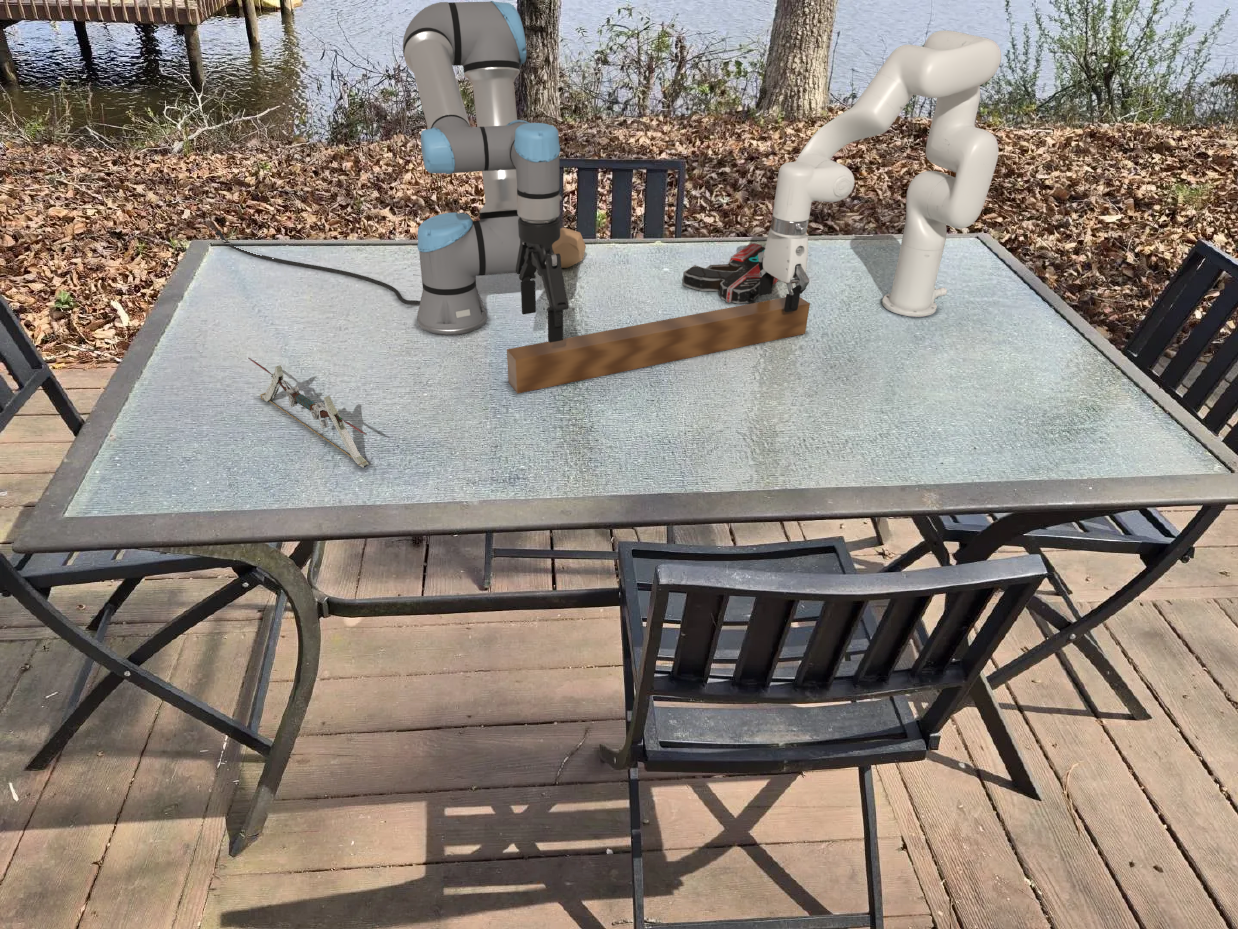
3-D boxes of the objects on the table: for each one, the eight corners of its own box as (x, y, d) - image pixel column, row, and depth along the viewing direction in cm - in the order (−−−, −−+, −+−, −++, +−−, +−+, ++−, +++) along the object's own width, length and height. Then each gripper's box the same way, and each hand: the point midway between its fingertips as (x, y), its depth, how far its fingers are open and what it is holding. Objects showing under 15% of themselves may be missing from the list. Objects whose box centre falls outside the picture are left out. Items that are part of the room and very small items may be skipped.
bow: (378, 470, 147) (371, 419, 141) (369, 475, 146) (361, 423, 140) (261, 391, 168) (250, 343, 163) (252, 394, 167) (241, 347, 162)
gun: (678, 273, 212) (751, 292, 205) (732, 235, 234) (800, 251, 226) (676, 290, 215) (749, 310, 207) (730, 251, 237) (797, 268, 229)
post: (517, 393, 170) (515, 360, 166) (508, 382, 174) (506, 349, 170) (805, 333, 196) (810, 303, 192) (792, 324, 200) (796, 294, 196)
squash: (587, 272, 224) (582, 240, 218) (510, 279, 226) (503, 248, 219) (588, 250, 232) (584, 219, 226) (514, 257, 233) (507, 226, 227)
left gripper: (587, 236, 148) (586, 349, 160) (532, 194, 167) (536, 299, 179) (546, 242, 146) (548, 356, 157) (495, 199, 164) (501, 305, 176)
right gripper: (829, 236, 177) (815, 315, 186) (780, 211, 190) (769, 286, 199) (799, 240, 174) (786, 320, 184) (751, 214, 187) (741, 290, 196)
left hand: (541, 326), depth 168 cm, fingers open, 13 cm apart
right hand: (777, 302), depth 191 cm, fingers open, 9 cm apart
